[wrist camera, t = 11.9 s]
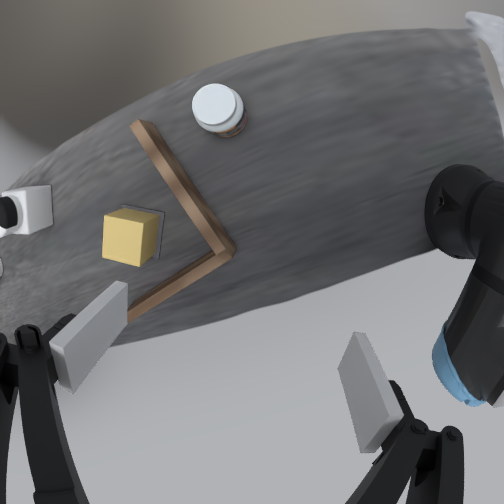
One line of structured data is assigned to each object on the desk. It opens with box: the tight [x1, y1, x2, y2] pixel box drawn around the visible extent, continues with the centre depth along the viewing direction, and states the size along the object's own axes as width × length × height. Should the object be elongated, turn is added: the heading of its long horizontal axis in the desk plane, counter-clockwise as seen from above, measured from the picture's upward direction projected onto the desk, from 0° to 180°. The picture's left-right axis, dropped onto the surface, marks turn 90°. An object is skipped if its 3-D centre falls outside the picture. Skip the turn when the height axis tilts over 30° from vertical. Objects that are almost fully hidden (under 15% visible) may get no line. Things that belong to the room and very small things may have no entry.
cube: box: [102, 208, 159, 267], centre depth 39 cm, size 6×6×6 cm
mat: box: [121, 204, 165, 259], centre depth 42 cm, size 10×10×1 cm
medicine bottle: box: [0, 185, 53, 237], centre depth 36 cm, size 7×7×12 cm
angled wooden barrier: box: [127, 119, 236, 323], centre depth 40 cm, size 22×20×5 cm
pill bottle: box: [192, 84, 247, 137], centre depth 32 cm, size 6×6×10 cm
